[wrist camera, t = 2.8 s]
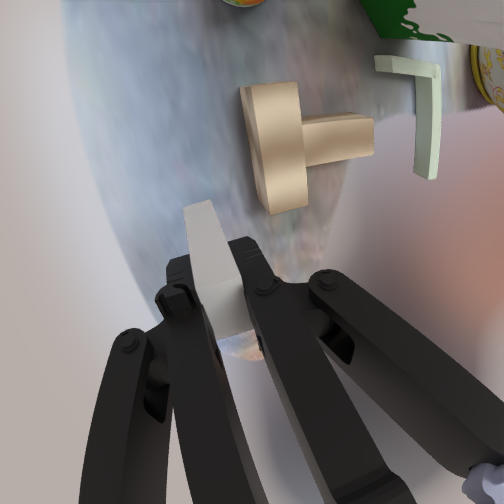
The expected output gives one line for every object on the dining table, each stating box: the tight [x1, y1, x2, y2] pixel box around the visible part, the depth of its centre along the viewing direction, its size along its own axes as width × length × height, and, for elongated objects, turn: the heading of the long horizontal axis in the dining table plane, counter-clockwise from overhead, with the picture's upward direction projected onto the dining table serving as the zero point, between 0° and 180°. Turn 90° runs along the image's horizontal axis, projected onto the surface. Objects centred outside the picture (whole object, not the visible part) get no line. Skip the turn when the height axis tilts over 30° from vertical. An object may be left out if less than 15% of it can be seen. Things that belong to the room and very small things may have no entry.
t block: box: [239, 81, 374, 215], centre depth 25 cm, size 12×12×4 cm
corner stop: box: [374, 55, 441, 180], centre depth 26 cm, size 16×9×3 cm, turn 9°
